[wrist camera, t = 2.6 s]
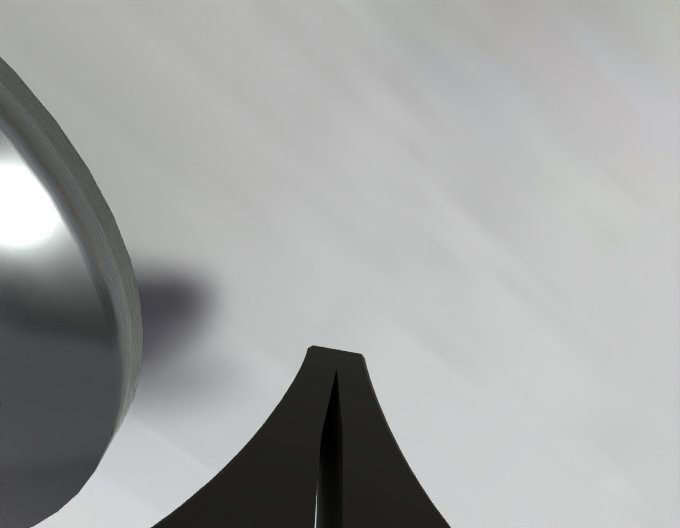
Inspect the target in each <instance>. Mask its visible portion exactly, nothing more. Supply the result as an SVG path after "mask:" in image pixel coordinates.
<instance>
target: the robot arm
mask: <svg viewBox="0 0 680 528" xmlns="http://www.w3.org/2000/svg"><path fill="white" fill-rule="evenodd" d="M317 482H318V484H317ZM316 495H317V519H316V528H451V527H450V526H449V524H448V523H447V522H446V520H445V519H444V518H443V516H442V515H441V514H440V512H439V511H438V510H437V508H436V507H435V506H434V504H433V503H432V501H431V500H430V498H429V497H428V495H427V494H426V492H425V491H424V489H423V488H422V486H421V485H420V483H419V481H418V480H417V478H416V476H415V475H414V473H413V472H412V470H411V468H410V466H409V465H408V463H407V461H406V459H405V458H404V456H403V454H402V452H401V450H400V448H399V446H398V444H397V442H396V440H395V438H394V436H393V434H392V432H391V430H390V428H389V426H388V423H387V421H386V419H385V416H384V414H383V412H382V409H381V407H380V405H379V402H378V399H377V397H376V394H375V391H374V389H373V386H372V383H371V380H370V377H369V373H368V370H367V366H366V362H365V358H364V357H363V355H362V354H359V353H353V352H347V351H342V350H336V349H330V348H325V347H319V346H311V347H309V348H308V350H307V354H306V356H305V359H304V361H303V364H302V366H301V368H300V370H299V372H298V374H297V375H296V377H295V379H294V381H293V382H292V384H291V386H290V387H289V389H288V390H287V392H286V394H285V395H284V397H283V398H282V400H281V401H280V403H279V404H278V405H277V407H276V408H275V409H274V411H273V412H272V413H271V415H270V416H269V417H268V419H267V420H266V422H265V423H264V424H263V425H262V427H261V428H260V429H259V430H258V431H257V433H256V434H255V435H254V436H253V437H252V439H251V440H250V441H249V442H248V443H247V444H246V445H245V446H244V448H243V449H242V450H241V451H240V452H239V453H238V454H237V455H236V456H235V457H234V458H233V459H232V460H231V461H230V462H229V463H228V464H227V465H226V466H225V467H224V468H223V469H222V470H221V471H220V472H219V473H218V474H217V475H216V476H215V477H214V478H213V479H211V480H210V481H209V482H208V483H207V484H206V485H205V486H203V487H202V488H201V489H200V490H199V491H198V492H196V493H195V494H194V495H193V496H192V497H190V498H189V499H188V500H187V501H186V502H185V503H183V504H182V505H181V506H180V507H178V508H177V509H176V510H175V511H173V512H172V513H171V514H169V515H168V516H167V517H165V518H164V519H162V520H161V521H160V522H158V523H157V524H155V525H154V526H153V527H151V528H314V527H315V510H316Z"/></svg>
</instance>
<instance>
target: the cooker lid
mask: <svg viewBox="0 0 680 528" xmlns="http://www.w3.org/2000/svg"><path fill="white" fill-rule="evenodd" d="M142 350H143V326H142V315H141V304H140V297H139V293H138V289H137V285H136V281H135V277H134V272H133V268H132V264H131V260H130V257H129V255H128V252H127V250H126V247H125V244H124V242H123V239H122V237H121V234H120V231H119V229H118V226H117V224H116V221H115V218H114V216H113V214H112V212H111V210H110V208H109V206H108V205H107V203H106V201H105V199H104V197H103V195H102V193H101V191H100V189H99V188H98V186H97V184H96V182H95V180H94V178H93V176H92V174H91V173H90V171H89V169H88V167H87V166H86V164H85V163H84V161H83V160H82V159H81V157H80V156H79V154H78V153H77V151H76V150H75V148H74V147H73V145H72V144H71V142H70V141H69V139H68V138H67V136H66V135H65V133H64V132H63V130H62V129H61V127H60V126H59V125H58V123H57V122H56V120H55V119H54V118H53V117H52V115H51V114H50V113H49V112H48V111H47V109H46V108H45V107H44V106H43V105H42V103H41V102H40V101H39V100H38V99H37V97H36V96H35V95H34V94H33V93H32V91H31V90H30V89H29V88H28V87H27V85H26V84H25V83H24V82H23V81H22V79H21V78H20V77H19V76H18V75H17V73H16V72H15V71H14V70H13V69H12V68H11V67H10V66H9V65H8V64H7V63H6V62H5V61H4V60H3V59H2V58H1V57H0V528H30V527H33V526H35V525H36V524H38V523H40V522H41V521H43V520H45V519H46V518H48V517H49V516H51V515H53V514H54V513H56V512H58V511H59V510H60V509H61V508H62V507H63V506H64V505H65V504H67V503H68V502H69V501H70V500H71V499H72V498H73V497H74V496H75V495H77V494H78V493H79V491H80V490H81V489H82V487H83V486H84V485H85V483H86V482H87V481H88V479H89V478H90V477H91V475H92V474H93V473H94V471H95V470H96V468H97V466H98V465H99V463H100V461H101V459H102V457H103V456H104V454H105V452H106V450H107V449H108V447H109V445H110V443H111V442H112V440H113V438H114V436H115V435H116V433H117V431H118V429H119V428H120V426H121V424H122V422H123V420H124V418H125V416H126V413H127V411H128V409H129V407H130V405H131V403H132V401H133V399H134V395H135V391H136V387H137V383H138V379H139V376H140V372H141V363H142Z"/></svg>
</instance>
